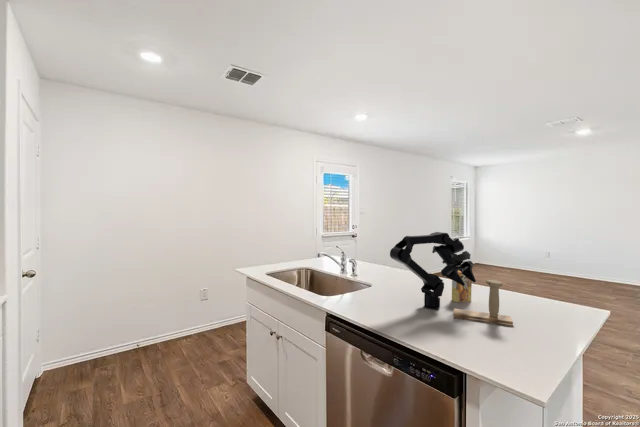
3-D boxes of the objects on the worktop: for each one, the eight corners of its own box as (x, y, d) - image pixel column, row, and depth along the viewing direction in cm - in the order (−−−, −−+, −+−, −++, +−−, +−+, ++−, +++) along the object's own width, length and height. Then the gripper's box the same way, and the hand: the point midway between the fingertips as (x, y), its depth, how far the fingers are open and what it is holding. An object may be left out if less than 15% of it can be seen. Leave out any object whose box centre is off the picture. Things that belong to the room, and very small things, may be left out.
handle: (494, 319, 122) (495, 283, 122) (483, 314, 128) (483, 279, 128) (504, 318, 123) (505, 283, 122) (492, 313, 129) (493, 279, 129)
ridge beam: (453, 318, 128) (453, 314, 128) (454, 310, 137) (454, 307, 137) (513, 327, 118) (513, 323, 118) (509, 318, 127) (509, 315, 127)
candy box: (466, 298, 155) (466, 270, 154) (471, 301, 151) (472, 271, 150) (451, 300, 153) (451, 270, 153) (456, 302, 149) (457, 272, 148)
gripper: (446, 247, 132) (470, 276, 124) (469, 244, 143) (493, 270, 134) (431, 262, 139) (453, 290, 130) (454, 257, 150) (475, 284, 141)
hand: (469, 283), depth 134 cm, fingers open, 9 cm apart
